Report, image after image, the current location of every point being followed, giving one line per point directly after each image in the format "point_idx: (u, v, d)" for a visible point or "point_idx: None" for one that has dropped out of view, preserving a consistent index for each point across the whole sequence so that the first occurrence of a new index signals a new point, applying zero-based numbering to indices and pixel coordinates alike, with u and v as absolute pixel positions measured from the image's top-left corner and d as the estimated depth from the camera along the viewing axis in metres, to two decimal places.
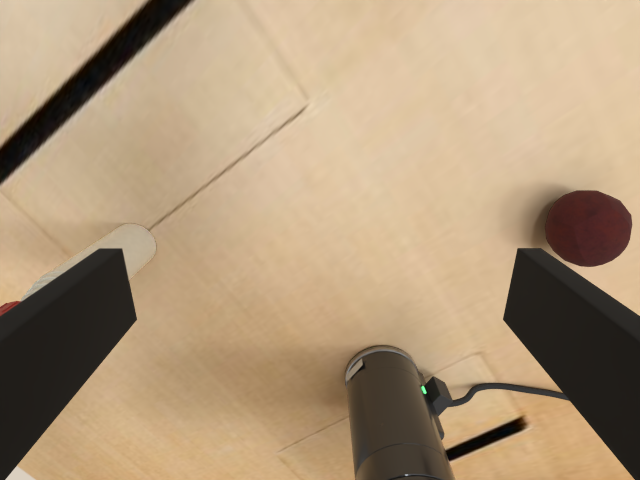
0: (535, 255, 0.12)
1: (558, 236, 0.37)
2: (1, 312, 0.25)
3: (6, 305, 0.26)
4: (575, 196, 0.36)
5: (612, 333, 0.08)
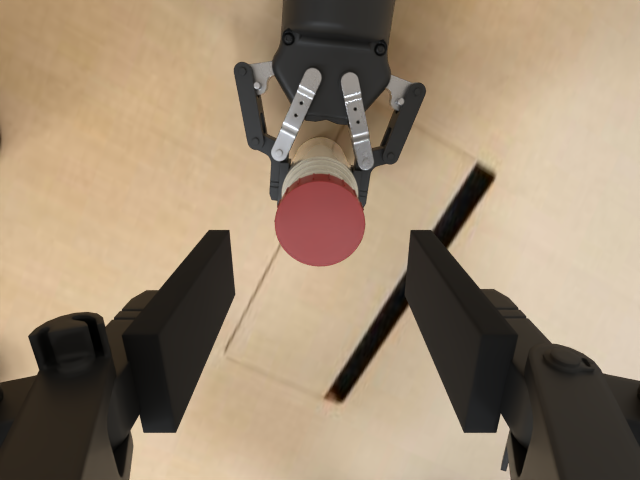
0: (422, 235, 0.13)
1: None
2: None
3: None
4: None
5: (447, 293, 0.10)
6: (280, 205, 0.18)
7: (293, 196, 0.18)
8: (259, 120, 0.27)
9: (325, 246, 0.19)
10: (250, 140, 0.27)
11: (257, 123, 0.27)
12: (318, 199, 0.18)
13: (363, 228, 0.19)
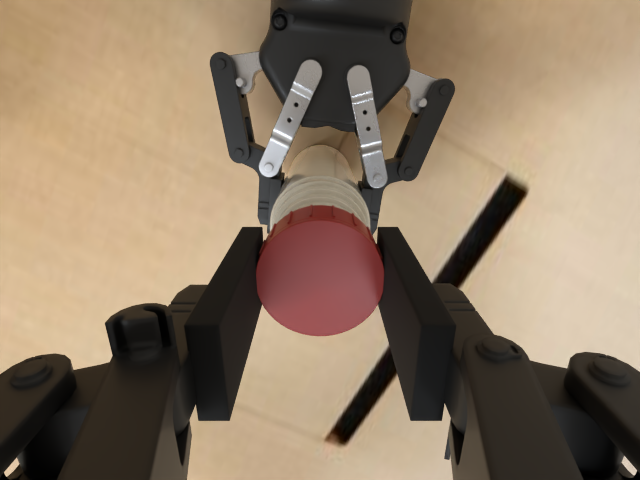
0: (387, 232, 0.14)
1: None
2: None
3: None
4: None
5: (400, 287, 0.10)
6: (262, 254, 0.12)
7: (281, 241, 0.12)
8: (243, 126, 0.21)
9: (327, 310, 0.13)
10: (232, 151, 0.22)
11: (241, 130, 0.21)
12: (317, 246, 0.12)
13: (382, 285, 0.13)
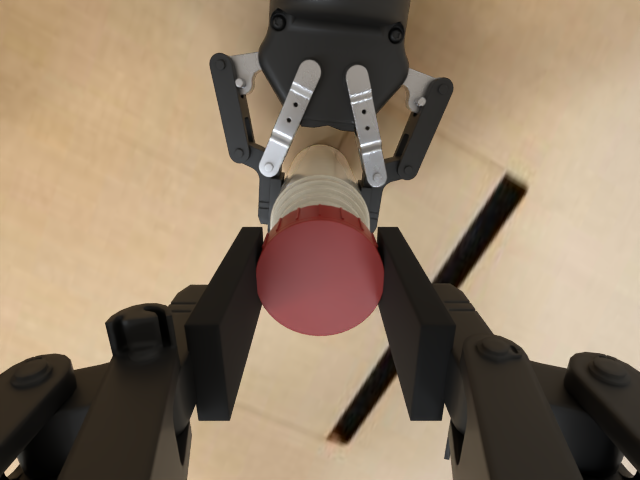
0: (387, 232, 0.14)
1: None
2: (362, 231, 0.13)
3: (348, 215, 0.13)
4: None
5: (400, 287, 0.10)
6: (314, 334, 0.14)
7: (295, 324, 0.13)
8: (243, 126, 0.22)
9: (347, 263, 0.13)
10: (233, 151, 0.22)
11: (241, 130, 0.22)
12: (285, 296, 0.13)
13: (299, 225, 0.12)
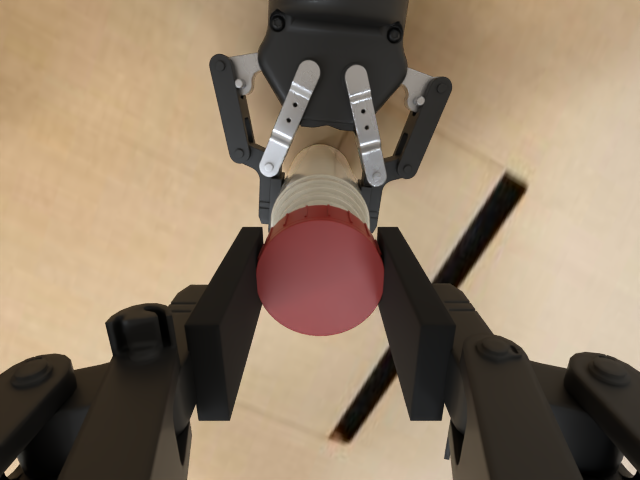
0: (387, 232, 0.14)
1: None
2: (258, 259, 0.13)
3: None
4: None
5: (400, 287, 0.10)
6: (381, 264, 0.13)
7: (376, 285, 0.13)
8: (243, 127, 0.22)
9: (291, 265, 0.13)
10: (233, 151, 0.22)
11: (241, 131, 0.22)
12: (348, 304, 0.13)
13: (274, 316, 0.13)
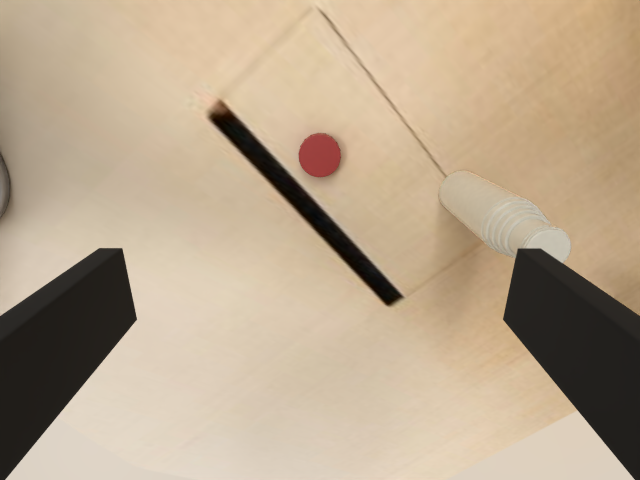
0: (535, 255, 0.12)
1: None
2: None
3: None
4: None
5: (612, 333, 0.08)
6: (306, 140, 0.39)
7: (314, 138, 0.39)
8: None
9: (318, 167, 0.40)
10: None
11: None
12: (324, 144, 0.40)
13: (337, 165, 0.40)
